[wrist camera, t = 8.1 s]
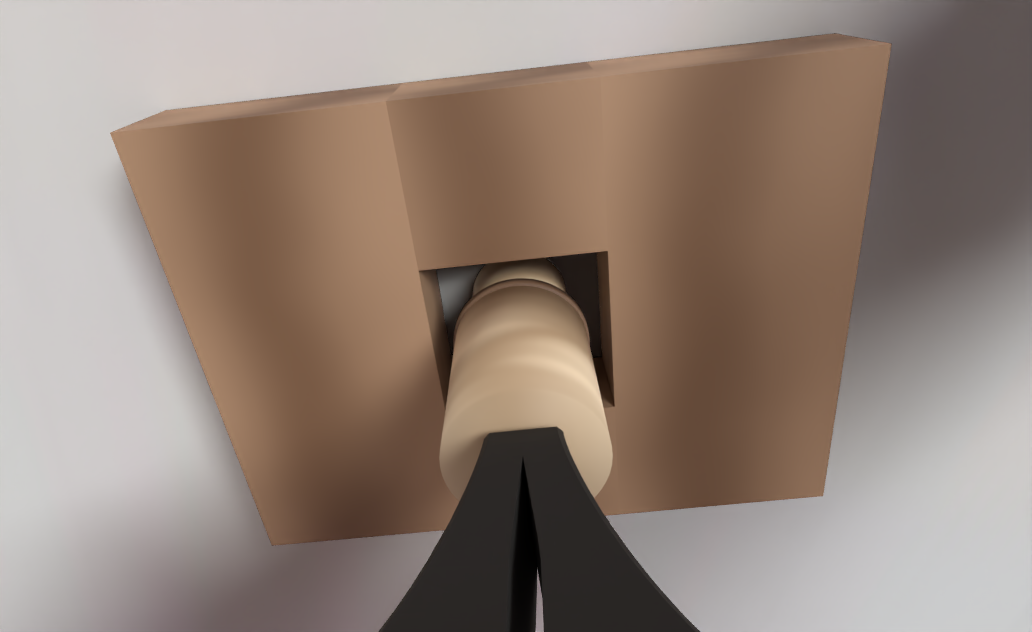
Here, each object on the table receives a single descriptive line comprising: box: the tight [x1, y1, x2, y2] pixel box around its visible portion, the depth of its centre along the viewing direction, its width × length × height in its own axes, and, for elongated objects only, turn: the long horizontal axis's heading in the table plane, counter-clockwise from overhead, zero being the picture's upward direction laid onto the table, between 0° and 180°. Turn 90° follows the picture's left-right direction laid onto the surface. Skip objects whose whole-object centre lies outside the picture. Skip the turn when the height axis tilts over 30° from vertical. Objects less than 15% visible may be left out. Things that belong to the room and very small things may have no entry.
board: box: [110, 33, 891, 546], centre depth 17 cm, size 16×12×2 cm
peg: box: [439, 258, 613, 501], centre depth 15 cm, size 3×3×7 cm
